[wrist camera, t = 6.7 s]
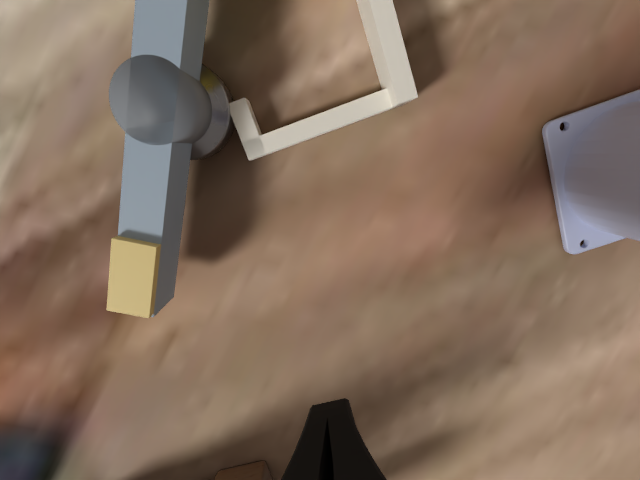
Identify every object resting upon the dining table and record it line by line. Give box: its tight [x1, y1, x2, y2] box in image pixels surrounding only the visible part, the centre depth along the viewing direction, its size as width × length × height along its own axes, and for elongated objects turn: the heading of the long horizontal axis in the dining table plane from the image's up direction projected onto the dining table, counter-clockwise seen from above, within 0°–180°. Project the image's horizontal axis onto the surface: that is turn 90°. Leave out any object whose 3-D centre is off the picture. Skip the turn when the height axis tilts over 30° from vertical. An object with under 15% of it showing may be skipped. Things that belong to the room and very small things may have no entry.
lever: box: [107, 0, 212, 318], centre depth 16 cm, size 4×20×3 cm, turn 168°
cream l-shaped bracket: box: [229, 0, 418, 161], centre depth 17 cm, size 9×11×2 cm
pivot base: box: [190, 64, 235, 160], centre depth 18 cm, size 5×5×2 cm
